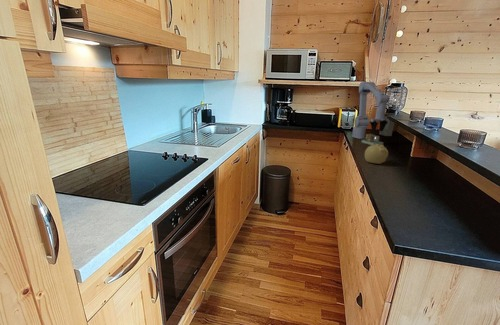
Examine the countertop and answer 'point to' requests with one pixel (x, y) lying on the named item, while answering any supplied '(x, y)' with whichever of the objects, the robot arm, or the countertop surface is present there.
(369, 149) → the pale yellow round ball
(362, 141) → the parts tray
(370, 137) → the oak block
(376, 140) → the metal peg
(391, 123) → the skincare box
